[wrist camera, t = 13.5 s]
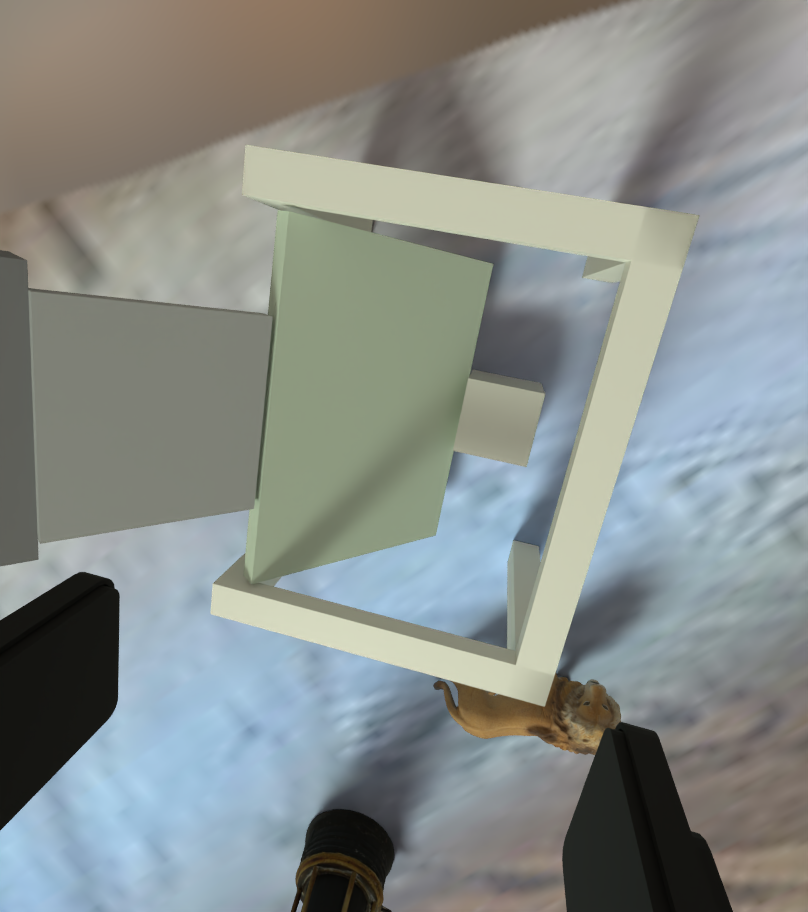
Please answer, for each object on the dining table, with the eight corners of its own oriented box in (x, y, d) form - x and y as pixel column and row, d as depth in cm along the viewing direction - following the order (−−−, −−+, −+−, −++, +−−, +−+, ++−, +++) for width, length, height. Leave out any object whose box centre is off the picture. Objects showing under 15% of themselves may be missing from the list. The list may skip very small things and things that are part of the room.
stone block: (473, 369, 40) (540, 382, 39) (459, 433, 41) (524, 448, 40) (468, 378, 35) (545, 393, 34) (453, 450, 36) (526, 466, 36)
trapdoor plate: (443, 257, 37) (493, 264, 34) (396, 510, 43) (435, 535, 40) (-146, 112, 18) (-151, 97, 15) (-86, 610, 24) (-80, 672, 21)
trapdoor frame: (620, 251, 36) (699, 215, 21) (532, 568, 43) (544, 706, 28) (347, 206, 38) (245, 144, 23) (307, 513, 45) (210, 614, 30)
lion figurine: (597, 627, 43) (618, 706, 35) (613, 682, 44) (638, 773, 36) (425, 658, 47) (407, 736, 38) (444, 708, 48) (430, 795, 39)
